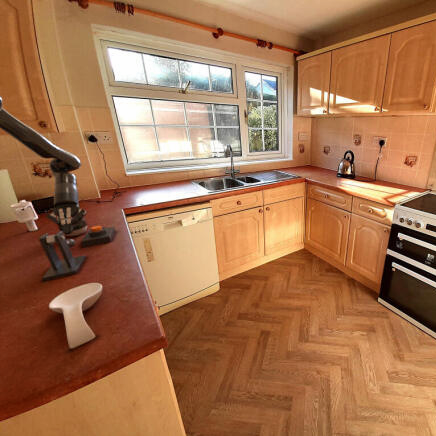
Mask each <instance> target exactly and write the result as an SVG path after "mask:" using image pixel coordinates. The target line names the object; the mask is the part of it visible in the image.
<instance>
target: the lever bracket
mask: <svg viewBox="0 0 436 436" xmlns="http://www.w3.org/2000/svg"><path fill="white" fill-rule="evenodd" d="M54 235H55V236H54V237H55V240H56V242H57V243H56V244H57V246H58V249H59V251H60V254H61V256H62V257H63V259H60V257H59V255H58V253H57V251H56V249H55V247H54V243H53V244H50V243H47V240H46V236H49V233H43V234H42V235H40V237H39V238H38V242H39V243H40V245H41V248H42V250H43V251H44V253H45V255H46V258H47V260H48V262H49V264H50V265H51V266H49V267H50V268H48V270H47V271H46V272H45V273H44V275H43V276H42V281H43V282H46V281H51V280H55V279H59V278H63V277H68V276H71V275H76V274H78V272H79V270H80V268H82V265H83V264H84V261H86V258H87V257H86V255H85V254H83V255H78V256H74V255H73V253H72V250H71V248H69V246H68V243H67V241H66V240H67V239H66V237H65V235H64V234H63V232H62V231H60V230H59V231H57V232H56V234H54Z"/></svg>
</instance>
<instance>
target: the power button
mask: <svg viewBox="0 0 436 436" xmlns="http://www.w3.org/2000/svg"><path fill="white" fill-rule="evenodd" d="M101 227H102V225H95V226H92V227H90V230H92V232H97V231H100V230H102V228H101Z"/></svg>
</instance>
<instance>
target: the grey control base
mask: <svg viewBox="0 0 436 436" xmlns="http://www.w3.org/2000/svg"><path fill="white" fill-rule="evenodd" d="M101 228H102V230H100V231H97V232H92V230H91V229H90V230H88V231H86V234H85V235H84V237H83V238H82V239H81V241H80V242H81V245H82V248H86V247H90V246H95V245H100V244H107V243H110V242H112V241H113V238H114V236H115V234H116V229H115V226H109V227H106V226H101Z"/></svg>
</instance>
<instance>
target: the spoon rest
mask: <svg viewBox="0 0 436 436" xmlns="http://www.w3.org/2000/svg"><path fill="white" fill-rule="evenodd" d="M102 292H103V285H102V284H101V283H98V282H91V283H86V284H82V285H79V286H76V287H73V288H71V289H69V290H66V291H64V292H63V293H60V294H59V295H57V296H56V297H54V298H53V299H52V300H51V301H50V303H49V304H48V308H49V310H51V311H53V312H55V313H59V314H63V318H64V324H65V325H64V326H65V331H66V338H67V343H68V347H69V349H75V348H77V347H79V346H81V345H83V344H86V343H88V342H90V341H92V340H93V339H95V338H96V335H95V333H94V332H93V330H92V328H90V326H89V325H88V323H87V322H86V320H85V317H84V313H83V312H85V311H87V310H88V309H90V308H91V307H92V306H93V305H94V304H96V302H97V301H98V300H99V298H100V297H101V295H102Z"/></svg>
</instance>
